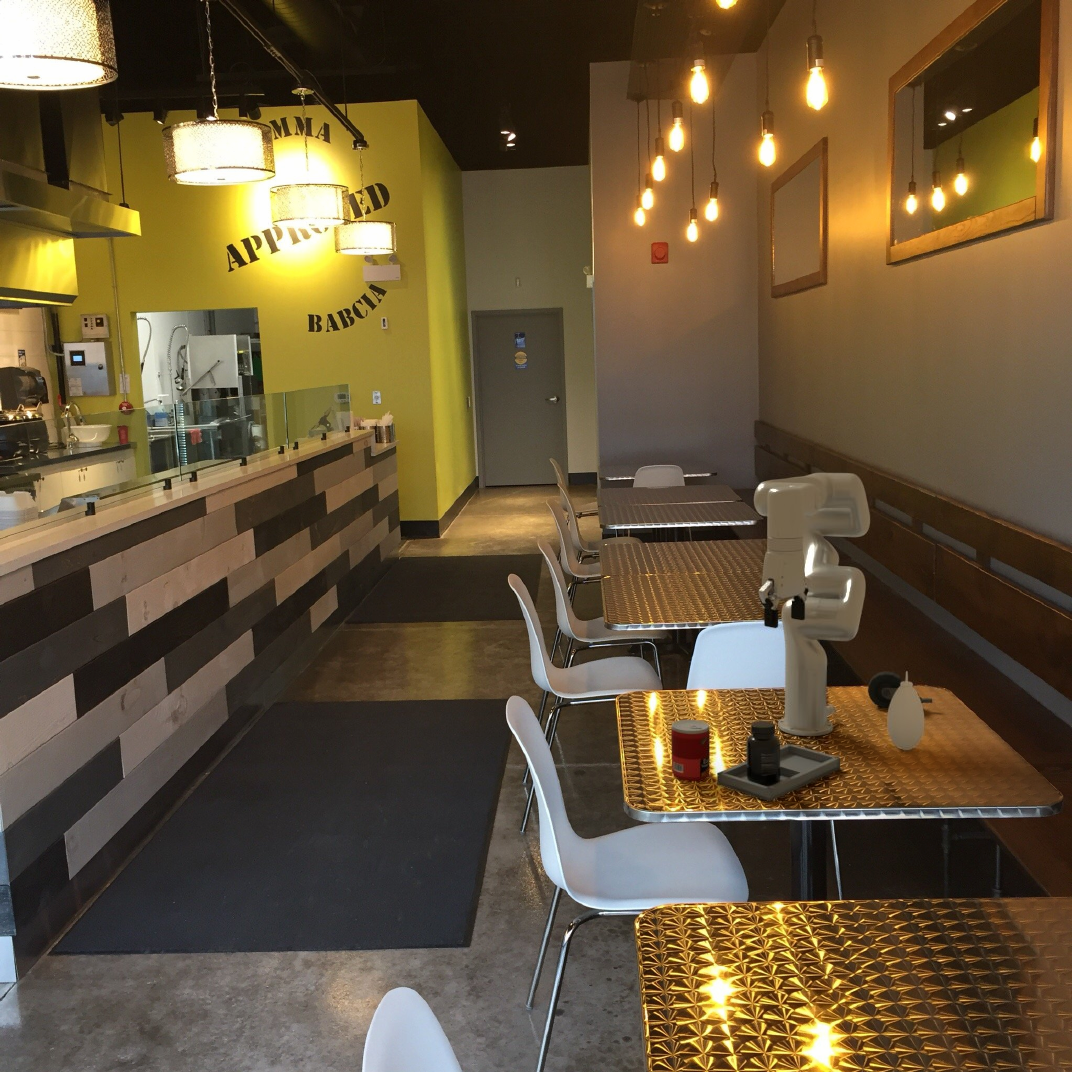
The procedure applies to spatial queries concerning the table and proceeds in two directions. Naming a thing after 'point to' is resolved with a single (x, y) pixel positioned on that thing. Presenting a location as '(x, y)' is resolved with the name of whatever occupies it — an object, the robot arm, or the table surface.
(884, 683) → the caster wheel
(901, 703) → the white air blower bulb
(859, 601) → the robot arm
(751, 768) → the supplement bottle
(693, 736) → the canned food
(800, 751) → the caddy
